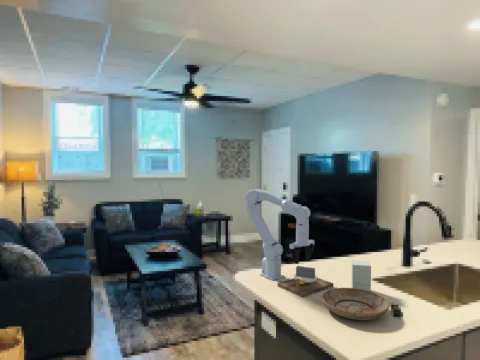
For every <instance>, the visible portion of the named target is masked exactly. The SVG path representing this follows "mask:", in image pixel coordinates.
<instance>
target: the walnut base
mask: <svg viewBox="0 0 480 360" xmlns="http://www.w3.org/2000/svg"><path fill="white" fill-rule="evenodd" d="M299 281H300V279H296V280H295V279H294V277H293V278H290V279H287V280H284V281H279V282H277V287H278V288H281V289H283V290H285V291H288V292H289V293H292V294H295V295H296V296H299V297H301V298H303V297H307V296H310V295H313V294H315V293H319V292H322V291H324V290H327V289H328V290H329V289H330V288H331V289H332V288H333V287H334V283H333V282H331V281H328V280H325V279H322V278H319V277H317V281H315V282H312V283H304V284H299Z"/></svg>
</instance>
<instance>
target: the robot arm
mask: <svg viewBox="0 0 480 360" xmlns="http://www.w3.org/2000/svg"><path fill="white" fill-rule="evenodd" d="M244 199H245V201H246V211H247V213H248V215H249V217H250V219H251V221H252V223H253V224H254V227H255V229H256V231H257V234H258V235H259V237H260V239H261V241H262V249H263V255H264V257H263V258H262V260H261V273H260V276H262V277H264V278H267V279H269V280H270V281H275V280H278V279H282V278H286V277H285V275H283V274H282V256H281V255H282V254H283V252H284V248H283V245H281V244H280V243H279V241H278V240H277V239H276V238H275V237H273V235H272V233H271V230H270V229H269V227H268V225H267V223H266V221H265V220H264V217H263V215H262V213H261V211H260V205H261V204H262V203H263V201H267V202H269V203H271V204H274V205H275V206H278V207H280V208H281V210H282V211H283V212H285V213H288V214H289V215H291V216H294V218H295V219H296V221H295V222H296V224H295V228H296V229H295V242H292V243H289V248H288V249H289V252H290V254H291V256H292V260H293V264H297V265H298V264H299V262H300V255H301V252H302V250H301V249H300V248H301V247H303V249H304V259H305V261H308V262H310V261H311V258H312V257H311V256H312V254H313V252H314V250H315V248H316V246H315V240H314V239H309V234H310V230H309V229H310V224H309V223H310V221H309V219H310V217H311V210H310V208H308V207H307V206H305V205H304V206H302V204H300V203H299V204H298V203H296V202H294V201H293V199H285V200H284V199H282V198H280V197H278V196H276V195H275V194H273V193H271V192H269V191H267V190H265V189H262V188H256V189H249V190H248V191H247V192H246V194H245V197H244Z"/></svg>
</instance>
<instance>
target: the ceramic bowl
mask: <svg viewBox="0 0 480 360" xmlns="http://www.w3.org/2000/svg"><path fill="white" fill-rule="evenodd" d="M321 301H322V303H323V306H325V308H327V310H329V311H330V312H332V313H334V314H335V315H338V316H340V317H343V318H346V319H350V320H356V321H357V320H358V321H370V320H374V319H375V320H376V319H378V318H381V317H383V316H384V315H386V314H387V313H388V311H389V309H390V303H389V301H388V299H386V298H385V297H384V296H382V295H380V294H379V293H376V292H373V291H372V290H371V291H367V290H362V289H356V288H352V287H336V288H331V289H328V290H326V291H324V292H323V293H322V295H321Z"/></svg>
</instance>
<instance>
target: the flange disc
mask: <svg viewBox="0 0 480 360" xmlns="http://www.w3.org/2000/svg"><path fill="white" fill-rule="evenodd" d="M293 278H294V279H295V280H296V279H300V281H299V284H304V283H312V282H315V281H317V278H318V277H317V275H316V267H308V266H303V265H302V266H300V265H297V266H296V268H295V274H294V277H293Z"/></svg>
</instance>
